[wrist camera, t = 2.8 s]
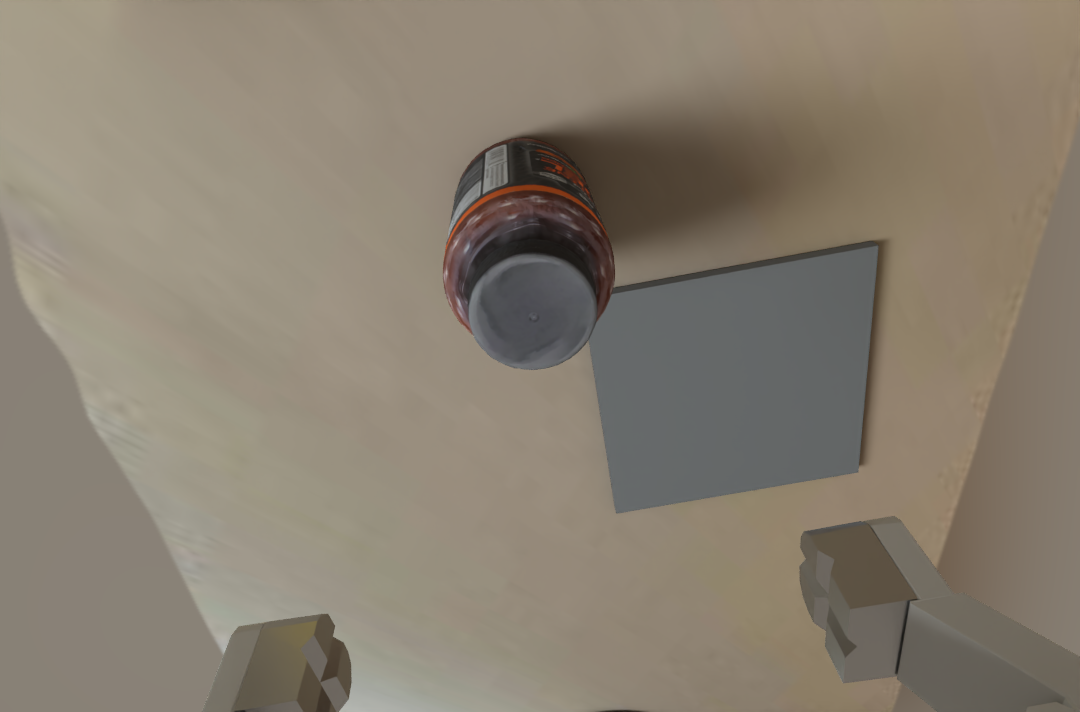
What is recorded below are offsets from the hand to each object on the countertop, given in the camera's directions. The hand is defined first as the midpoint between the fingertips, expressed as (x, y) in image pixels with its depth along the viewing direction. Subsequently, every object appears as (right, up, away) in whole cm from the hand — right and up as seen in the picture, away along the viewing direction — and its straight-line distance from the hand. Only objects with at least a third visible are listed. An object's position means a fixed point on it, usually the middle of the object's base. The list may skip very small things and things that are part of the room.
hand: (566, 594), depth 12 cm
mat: (+10, +2, +25) cm, 26 cm away
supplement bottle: (-1, +11, +19) cm, 22 cm away
